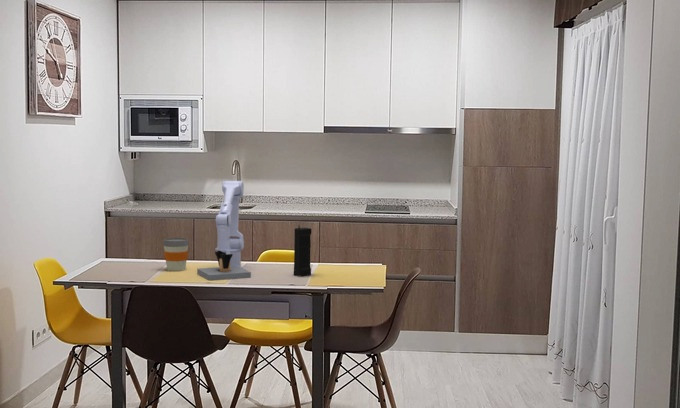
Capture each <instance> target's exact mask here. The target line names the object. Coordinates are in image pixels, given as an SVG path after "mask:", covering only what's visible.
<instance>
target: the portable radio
mask: <svg viewBox="0 0 680 408" xmlns="http://www.w3.org/2000/svg"><path fill="white" fill-rule="evenodd" d="M311 235H312V228H310V227H300V226H298V227H297V228H294V244H293V245H294V246H293V247H294V248H293V250H294V251H293V252H294V254H293V276H296V277H307V276H311V275H312V268H311V247H312V244H311V243H312V242H311Z"/></svg>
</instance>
